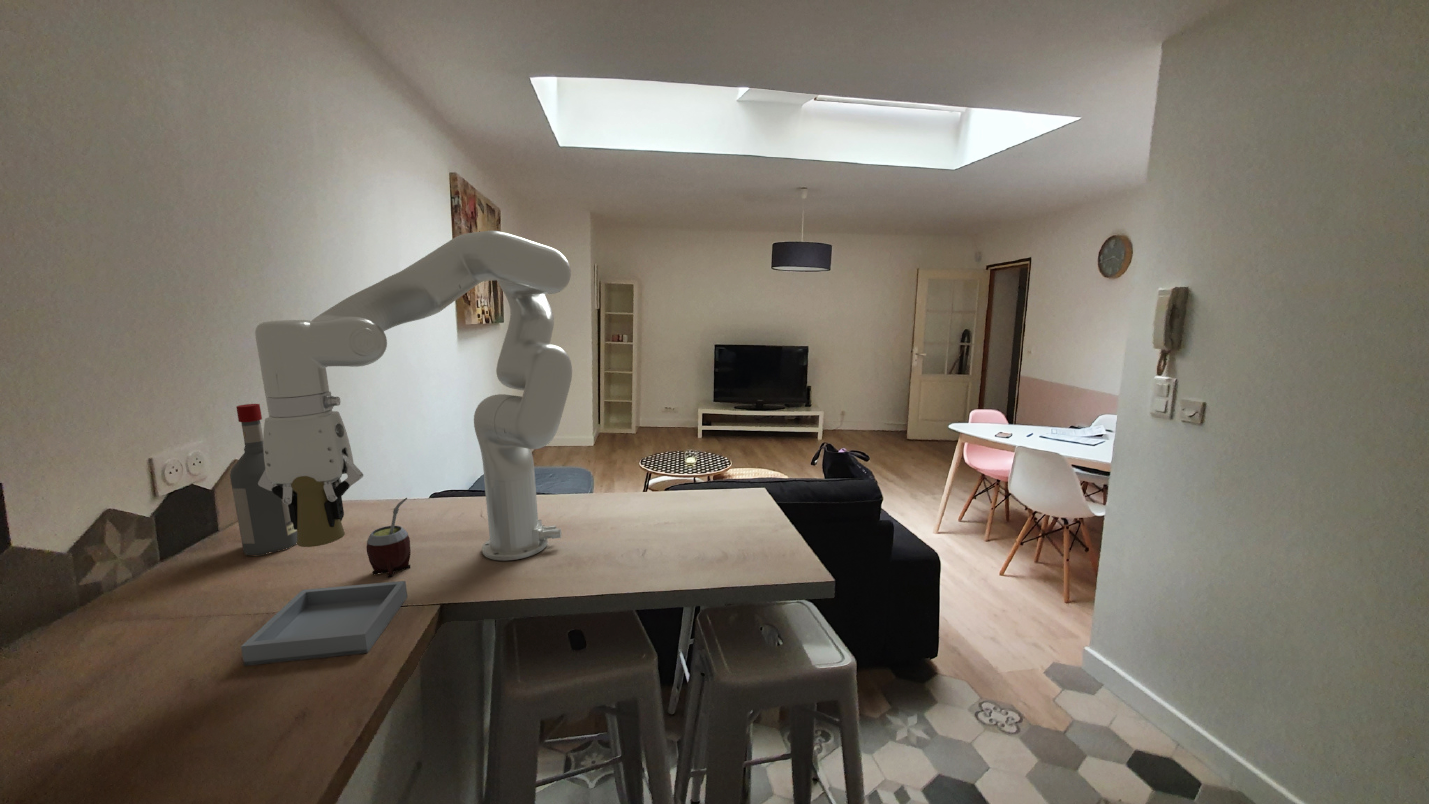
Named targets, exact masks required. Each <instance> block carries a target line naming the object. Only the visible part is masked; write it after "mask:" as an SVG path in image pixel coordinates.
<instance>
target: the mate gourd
mask: <svg viewBox="0 0 1429 804" xmlns="http://www.w3.org/2000/svg"><path fill="white" fill-rule="evenodd" d="M406 500H408V497H405V498H404V499H402V500H400V502H399V503H397V504H396V506H395V507H394V508H393V511H392V519H391V525H387V526H383V527H379V528H377V529H374V530H373V531H372V532H370V534H369V536H368V537H367V541H366V554H367V557H368V561H369V563H370V565H371V567H372V572H371V573H372V575H373V576H374V574H375V575H379V574H378V573H381V574H386V573H387V579H391V578H393V577H394V574H395V572H397V571H403V570H402V569H404V570H407V569H406V568H409V569H411V564H410V559H411V554H412V553H411V540H410V539H411V538H410V535H409V534H408V532H407V531H406V529H404V527H402V526H400V525H396V519H397V515H398V514H399V510H400V509H399V508H400V507H401V505H402V504H404V502H406ZM393 573H394V574H393Z"/></svg>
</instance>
